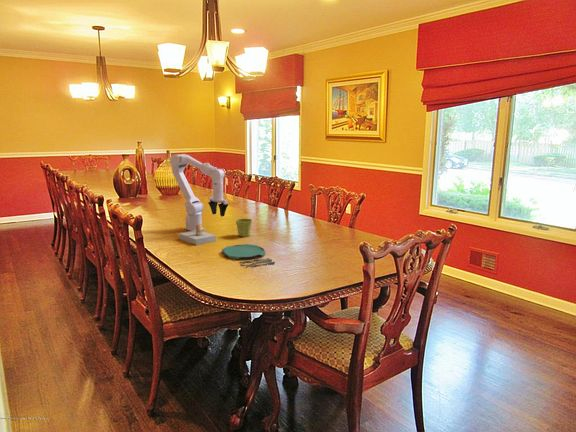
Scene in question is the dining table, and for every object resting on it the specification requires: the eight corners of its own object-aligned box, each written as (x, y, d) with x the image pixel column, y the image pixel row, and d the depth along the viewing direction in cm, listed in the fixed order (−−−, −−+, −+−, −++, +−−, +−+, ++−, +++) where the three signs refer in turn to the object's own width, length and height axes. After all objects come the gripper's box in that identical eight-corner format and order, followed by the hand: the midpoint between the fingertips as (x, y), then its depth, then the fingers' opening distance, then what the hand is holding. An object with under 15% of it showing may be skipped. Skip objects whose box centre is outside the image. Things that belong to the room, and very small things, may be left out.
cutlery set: (256, 246, 214) (256, 242, 213) (279, 265, 187) (279, 260, 187) (217, 251, 206) (217, 246, 205) (236, 271, 179) (236, 266, 179)
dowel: (194, 239, 222) (194, 224, 221) (199, 238, 225) (199, 223, 223) (198, 240, 220) (198, 225, 219) (202, 239, 223) (202, 224, 221)
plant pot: (236, 238, 228) (236, 222, 226) (234, 234, 237) (233, 218, 235) (254, 237, 231) (253, 221, 229) (250, 233, 239) (250, 218, 238)
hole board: (179, 239, 224) (179, 233, 224) (198, 235, 233) (198, 229, 232) (196, 245, 213) (196, 239, 213) (216, 241, 222) (215, 235, 221)
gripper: (204, 190, 237) (204, 214, 240) (220, 193, 227) (220, 218, 230) (214, 189, 242) (215, 212, 245) (230, 192, 232) (230, 216, 235)
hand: (218, 215), depth 238 cm, fingers open, 7 cm apart
